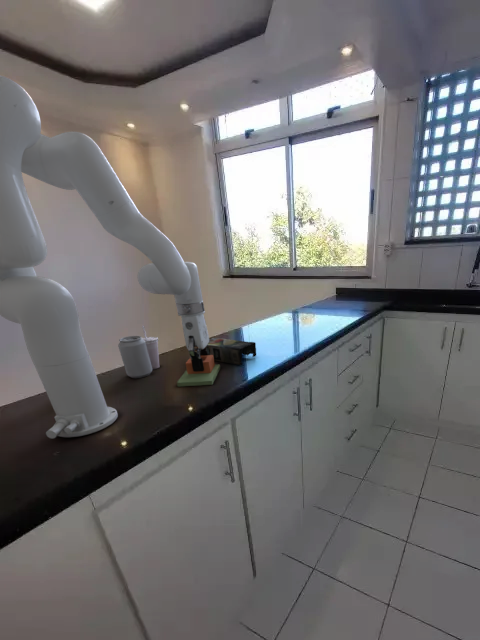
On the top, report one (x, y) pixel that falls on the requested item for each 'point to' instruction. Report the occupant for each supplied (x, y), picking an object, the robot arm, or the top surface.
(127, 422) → the top surface
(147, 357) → the can
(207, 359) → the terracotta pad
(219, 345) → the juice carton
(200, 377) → the base pad
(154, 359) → the smoothie
